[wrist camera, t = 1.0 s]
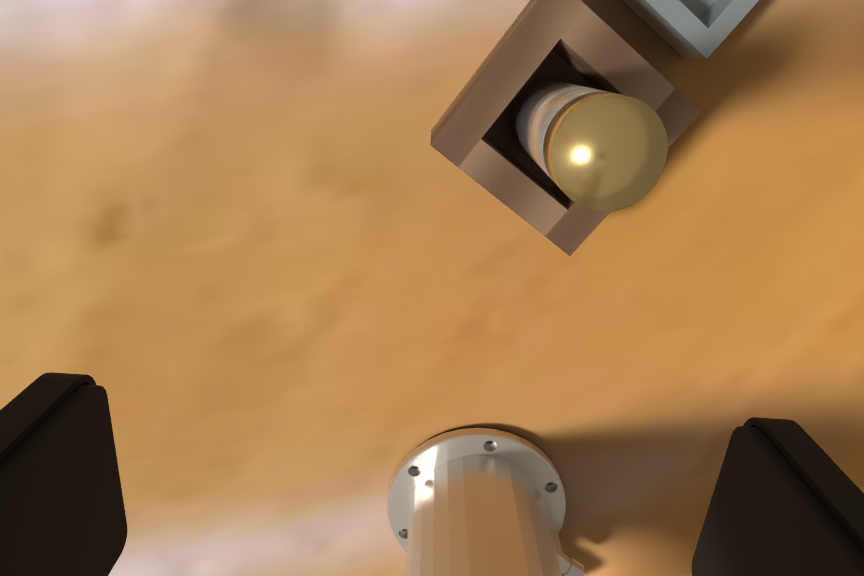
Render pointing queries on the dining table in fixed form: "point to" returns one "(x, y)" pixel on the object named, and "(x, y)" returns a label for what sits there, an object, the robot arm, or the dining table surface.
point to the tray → (692, 22)
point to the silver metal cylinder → (591, 142)
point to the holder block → (535, 61)
